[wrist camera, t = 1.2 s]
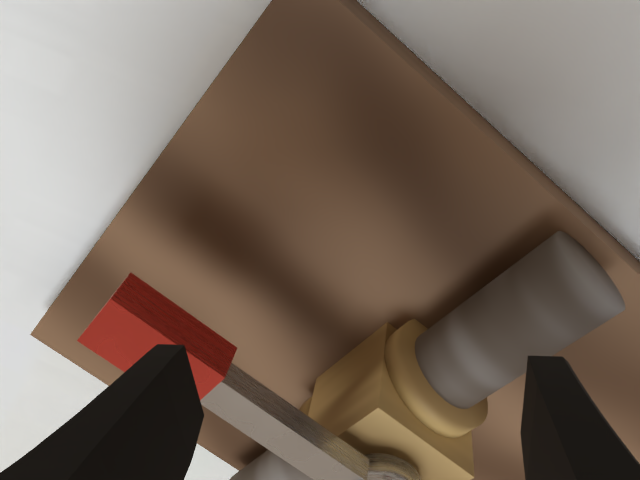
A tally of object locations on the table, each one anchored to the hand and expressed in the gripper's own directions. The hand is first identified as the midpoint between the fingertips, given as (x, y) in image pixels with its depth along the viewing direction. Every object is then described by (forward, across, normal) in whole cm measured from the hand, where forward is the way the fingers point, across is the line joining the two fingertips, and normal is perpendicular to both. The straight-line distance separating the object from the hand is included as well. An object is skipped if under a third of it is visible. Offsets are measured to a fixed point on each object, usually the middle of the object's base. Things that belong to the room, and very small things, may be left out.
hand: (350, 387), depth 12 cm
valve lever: (+4, +3, +4) cm, 6 cm away
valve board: (+9, 0, +8) cm, 12 cm away
